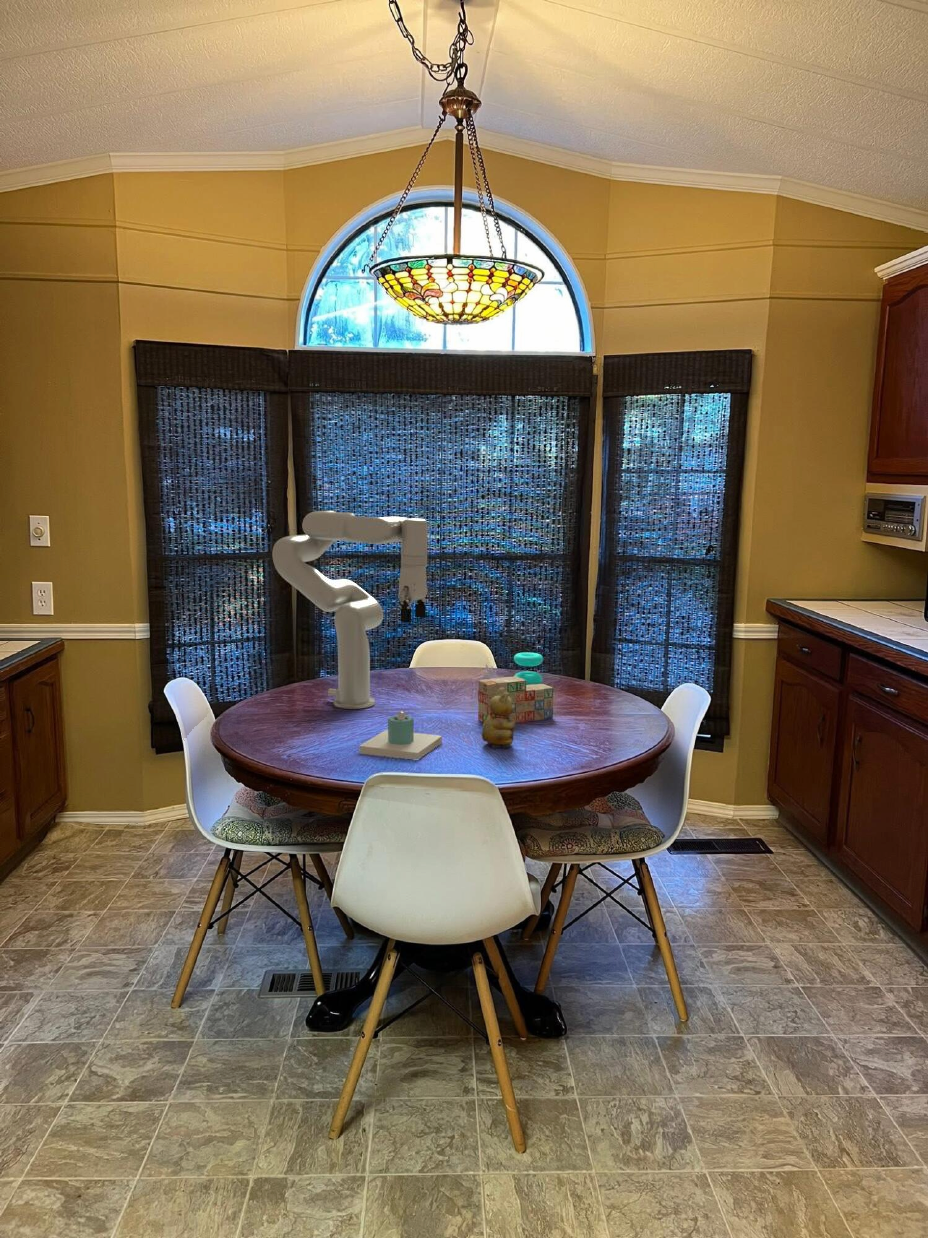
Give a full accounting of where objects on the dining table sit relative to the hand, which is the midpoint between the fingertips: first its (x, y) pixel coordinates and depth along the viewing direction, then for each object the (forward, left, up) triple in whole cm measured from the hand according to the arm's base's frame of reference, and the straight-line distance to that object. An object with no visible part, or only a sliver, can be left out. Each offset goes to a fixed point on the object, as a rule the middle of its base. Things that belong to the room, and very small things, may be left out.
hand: (413, 619), depth 262 cm
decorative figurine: (+34, -22, -28) cm, 49 cm away
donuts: (+21, +51, -28) cm, 62 cm away
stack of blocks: (+31, +4, -28) cm, 42 cm away
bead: (+12, -35, -26) cm, 45 cm away
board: (+12, -34, -28) cm, 46 cm away
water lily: (+18, +27, -28) cm, 43 cm away
